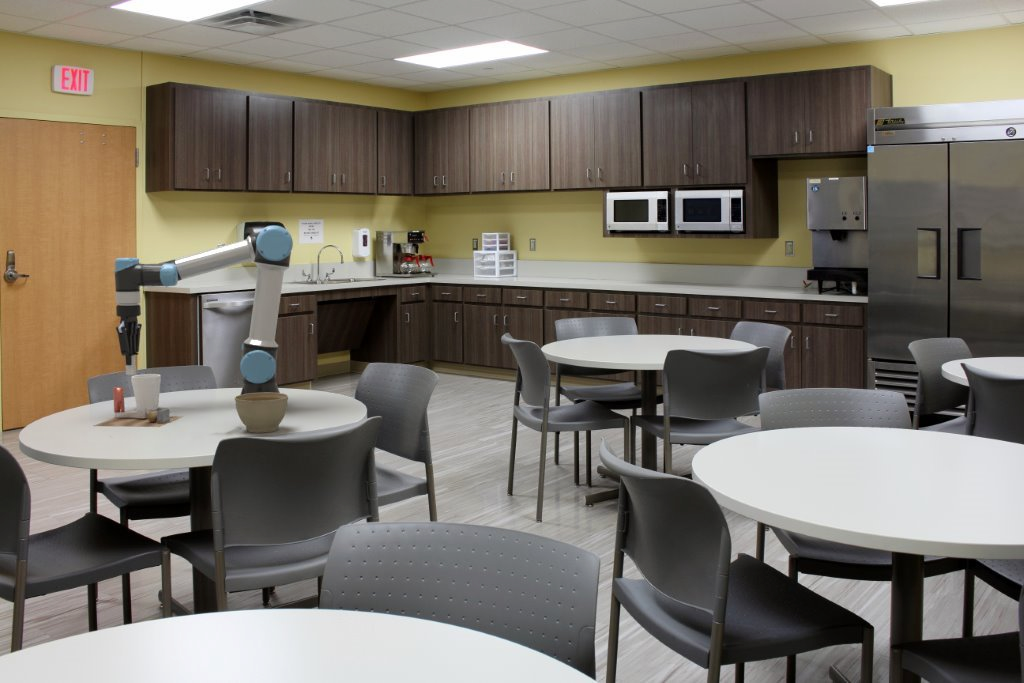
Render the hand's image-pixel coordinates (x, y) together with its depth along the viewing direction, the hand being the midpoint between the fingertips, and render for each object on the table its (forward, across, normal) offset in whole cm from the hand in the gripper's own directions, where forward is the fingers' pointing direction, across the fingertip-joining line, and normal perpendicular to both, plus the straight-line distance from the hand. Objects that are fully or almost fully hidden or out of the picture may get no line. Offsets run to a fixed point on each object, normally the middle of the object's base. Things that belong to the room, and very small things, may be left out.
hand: (130, 374), depth 317 cm
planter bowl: (+15, +16, +52) cm, 56 cm away
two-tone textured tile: (+13, +13, +18) cm, 26 cm away
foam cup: (+15, -10, 0) cm, 18 cm away
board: (+15, +12, +8) cm, 21 cm away
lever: (+13, +7, +7) cm, 17 cm away
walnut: (+12, +13, +14) cm, 22 cm away
